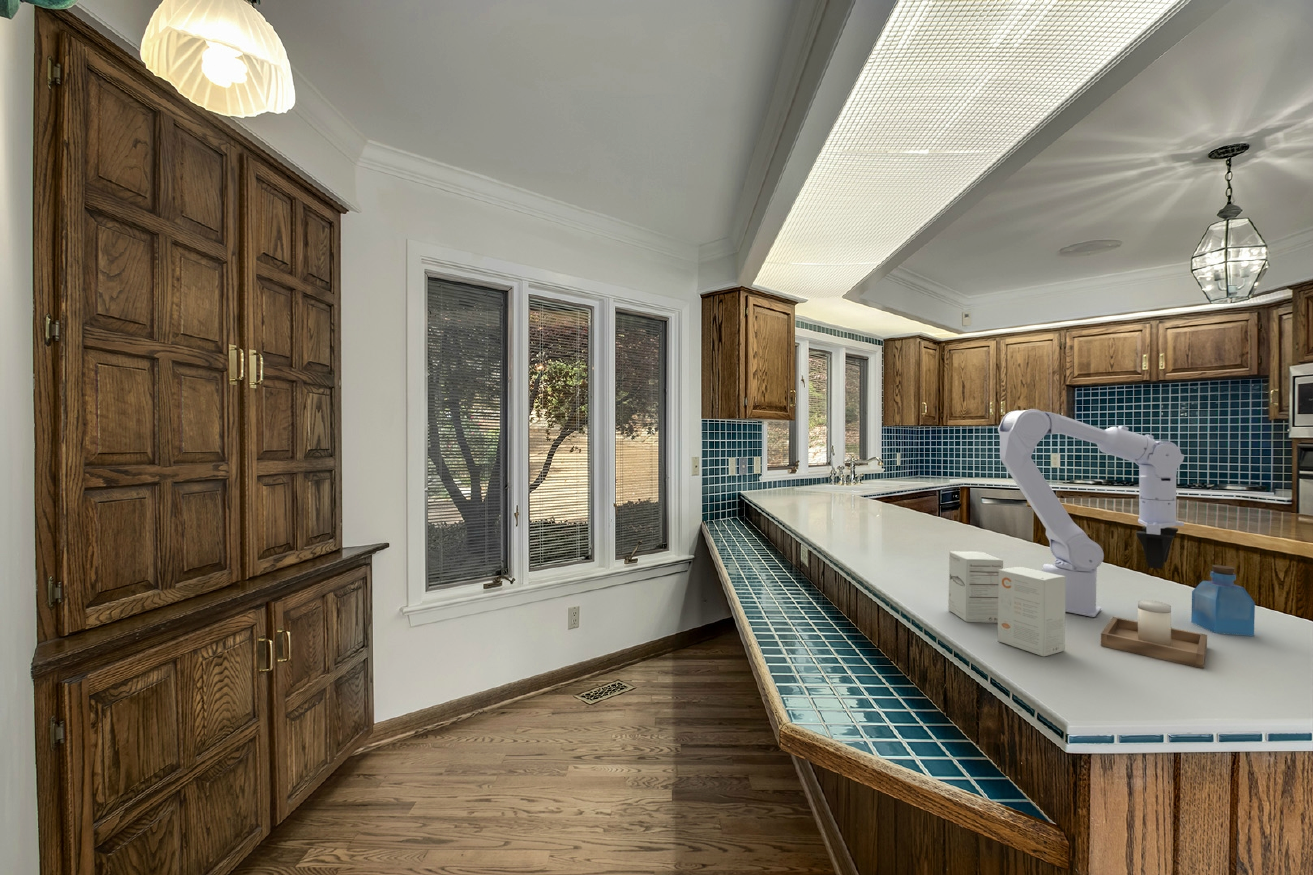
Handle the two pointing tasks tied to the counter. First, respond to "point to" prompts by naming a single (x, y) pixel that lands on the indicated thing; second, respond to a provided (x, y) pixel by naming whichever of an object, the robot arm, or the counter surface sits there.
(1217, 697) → the counter surface
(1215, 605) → the perfume bottle
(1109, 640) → the walnut tray
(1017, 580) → the small box
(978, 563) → the supplement box
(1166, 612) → the cylinder
